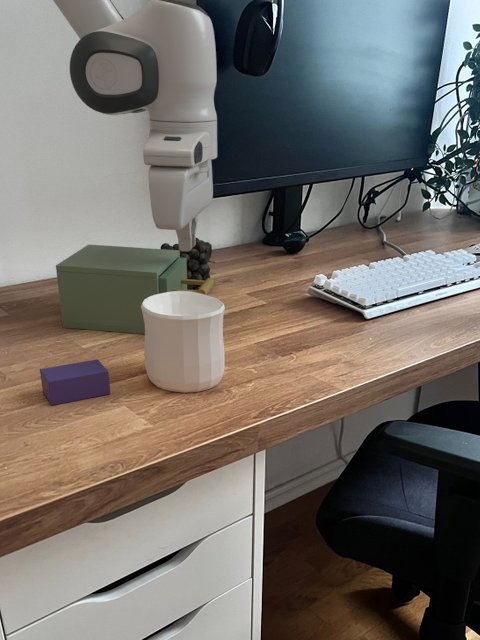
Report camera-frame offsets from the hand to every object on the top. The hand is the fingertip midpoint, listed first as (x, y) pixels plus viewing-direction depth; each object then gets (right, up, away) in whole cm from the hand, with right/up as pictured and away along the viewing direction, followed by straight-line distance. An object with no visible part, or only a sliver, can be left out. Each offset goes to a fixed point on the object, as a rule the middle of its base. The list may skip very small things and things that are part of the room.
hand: (187, 248), depth 98 cm
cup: (+1, -20, -12) cm, 23 cm away
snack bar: (-11, -22, -17) cm, 30 cm away
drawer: (-6, -8, +6) cm, 12 cm away
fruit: (-5, -1, +21) cm, 22 cm away
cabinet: (-10, -9, +7) cm, 15 cm away
